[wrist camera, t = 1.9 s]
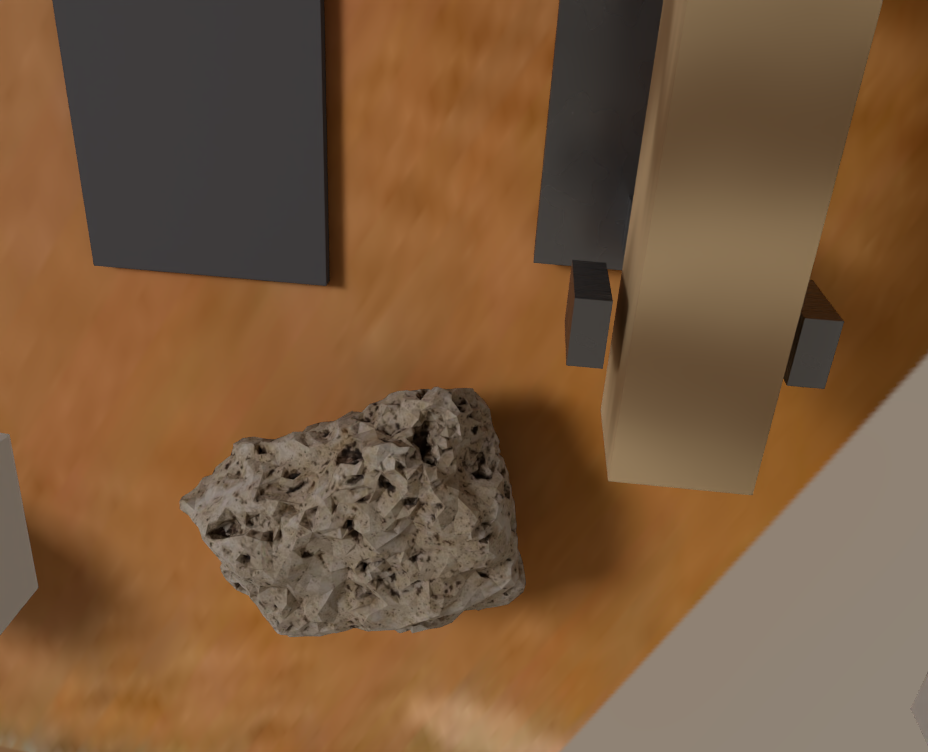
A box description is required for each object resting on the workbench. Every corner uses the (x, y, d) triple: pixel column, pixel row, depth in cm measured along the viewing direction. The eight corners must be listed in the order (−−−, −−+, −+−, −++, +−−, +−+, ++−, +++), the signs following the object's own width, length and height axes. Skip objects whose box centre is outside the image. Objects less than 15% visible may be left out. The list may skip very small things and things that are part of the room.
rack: (581, -225, 27) (601, -328, 16) (869, -209, 26) (1082, -305, 16) (534, 252, 34) (526, 393, 24) (757, 271, 34) (852, 424, 23)
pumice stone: (262, 565, 44) (206, 686, 36) (203, 359, 38) (124, 455, 31) (532, 555, 42) (528, 682, 35) (509, 337, 36) (500, 434, 29)
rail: (724, -403, 18) (767, -487, 14) (917, -395, 18) (1008, -477, 14) (600, 410, 27) (608, 480, 24) (726, 422, 27) (752, 495, 24)
